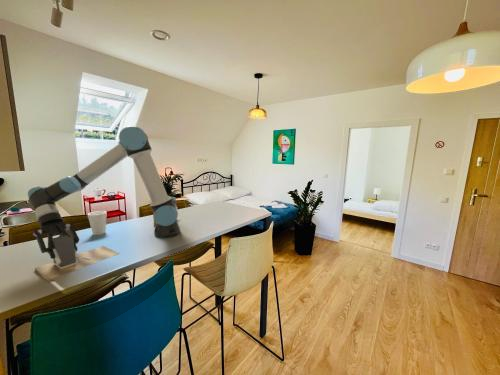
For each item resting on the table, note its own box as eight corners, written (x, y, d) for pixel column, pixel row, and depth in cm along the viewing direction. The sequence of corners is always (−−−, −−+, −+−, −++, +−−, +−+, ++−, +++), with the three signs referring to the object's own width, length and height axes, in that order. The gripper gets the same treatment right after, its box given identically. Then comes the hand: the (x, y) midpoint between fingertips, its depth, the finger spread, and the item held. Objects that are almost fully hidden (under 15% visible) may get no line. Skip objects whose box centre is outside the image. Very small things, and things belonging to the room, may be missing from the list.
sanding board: (103, 248, 110) (103, 245, 110) (120, 255, 102) (119, 253, 102) (34, 270, 88) (34, 267, 88) (49, 282, 80) (48, 279, 80)
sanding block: (76, 264, 91) (73, 239, 89) (61, 269, 87) (58, 242, 85) (68, 259, 95) (65, 235, 93) (53, 263, 91) (50, 238, 89)
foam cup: (86, 234, 128) (84, 213, 127) (101, 229, 137) (99, 210, 135) (96, 236, 125) (94, 215, 123) (111, 231, 134) (110, 211, 132)
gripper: (72, 216, 104) (90, 256, 98) (19, 226, 89) (37, 275, 83) (75, 207, 100) (95, 248, 94) (20, 216, 85) (40, 266, 79)
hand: (68, 260), depth 88 cm, fingers closed on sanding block, 5 cm apart
